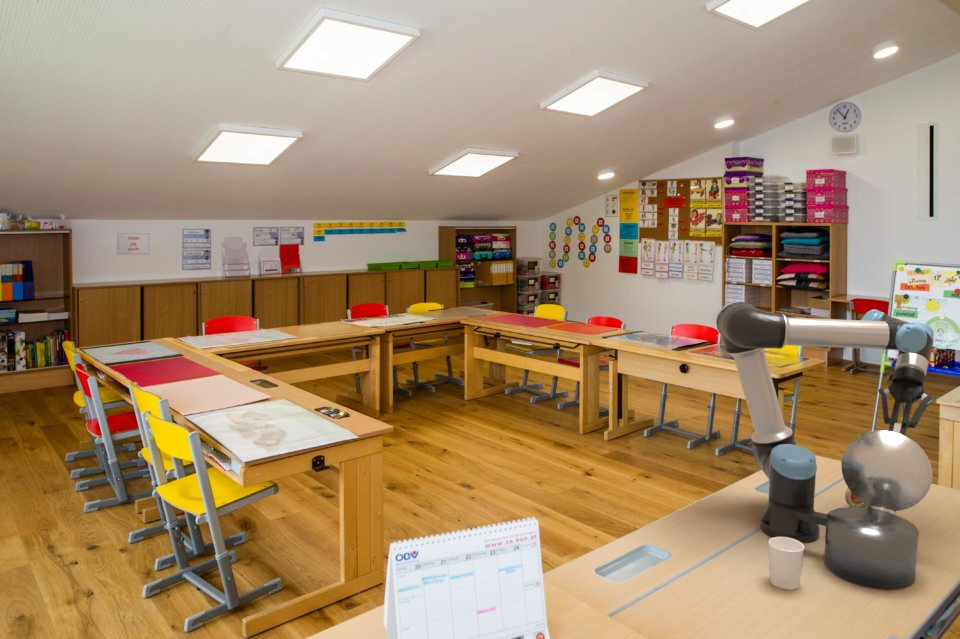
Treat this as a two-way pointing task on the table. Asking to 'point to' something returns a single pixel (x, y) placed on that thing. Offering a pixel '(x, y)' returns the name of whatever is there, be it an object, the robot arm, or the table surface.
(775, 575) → the white cup
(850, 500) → the bird rattle
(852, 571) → the cooker pot
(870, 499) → the cooker lid
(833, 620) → the table surface
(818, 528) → the robot arm
